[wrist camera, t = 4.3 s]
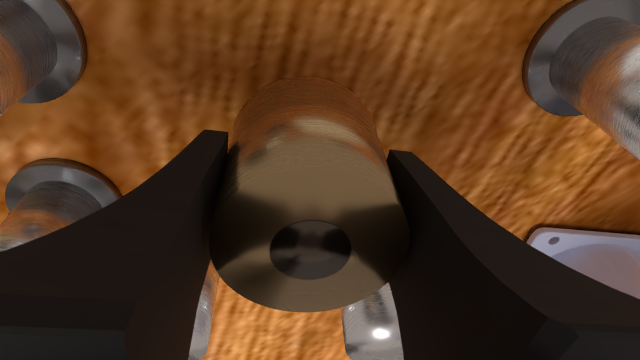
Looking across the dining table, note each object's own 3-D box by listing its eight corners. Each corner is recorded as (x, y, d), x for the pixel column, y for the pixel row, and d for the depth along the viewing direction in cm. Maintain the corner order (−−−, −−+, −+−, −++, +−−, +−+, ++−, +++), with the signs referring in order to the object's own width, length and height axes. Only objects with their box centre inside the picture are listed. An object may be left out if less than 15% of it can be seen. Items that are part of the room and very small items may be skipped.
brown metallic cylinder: (391, 86, 12) (438, 181, 8) (358, 205, 14) (382, 318, 11) (235, 66, 11) (208, 159, 8) (229, 194, 14) (207, 310, 10)
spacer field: (795, -192, 11) (1124, -236, 7) (498, 286, 23) (548, 386, 18) (-244, -473, 8) (-939, -927, 3) (23, 258, 19) (-56, 373, 15)
